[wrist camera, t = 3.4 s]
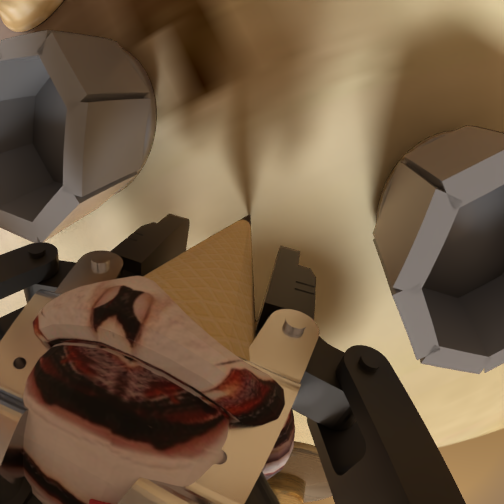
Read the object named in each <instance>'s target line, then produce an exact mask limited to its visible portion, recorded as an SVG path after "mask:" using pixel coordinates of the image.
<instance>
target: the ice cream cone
mask: <svg viewBox="0 0 504 504" xmlns="http://www.w3.org/2000/svg"><path fill="white" fill-rule="evenodd" d="M32 323H33V328H34V333H35V334H36V335H37V336H38V337H39V338H40V339H41V340H42V341H43V342H47V343H50V344H53V345H54V346H53V347H52V348H50V349H49V350H48V351H47V352H46V353H45V354H43V355H42V356H41V357H40V358H39V360H38V361H37V363H36V364H35V366H34V368H33V369H32V371H31V373H30V374H29V376H28V378H27V381H26V385H25V390H24V395H23V402H24V404H25V406H26V407H27V408H29V411H28V416H27V421H26V427H25V433H24V444H23V469H24V475H25V477H26V479H27V481H28V482H29V484H30V485H31V487H32V493H33V494H34V495H35V496H36V497H37V498H38V499H39V500H40V501H41V502H42V503H43V504H117V503H118V502H119V501H120V499H121V498H122V497H123V496H124V495H125V494H126V492H127V491H128V490H129V489H130V488H131V486H132V485H133V484H134V483H135V482H136V481H137V480H138V479H139V478H140V477H141V478H146V479H150V480H155V481H160V482H164V483H167V484H171V485H176V486H182V487H184V486H189V485H191V484H193V483H194V482H195V481H196V480H197V479H199V478H200V477H201V476H202V475H203V474H204V473H205V472H206V471H207V470H208V469H209V468H210V467H211V466H212V465H213V464H217V465H220V464H223V463H225V462H226V456H225V454H224V452H223V451H222V450H221V449H222V447H223V445H224V443H225V441H226V439H227V435H228V425H229V416H230V417H232V418H234V419H236V420H238V421H240V422H242V423H244V424H254V425H264V424H266V423H269V422H272V421H274V420H277V419H278V418H279V416H280V415H281V412H282V410H283V408H284V406H285V398H284V389H283V388H282V387H281V386H280V385H279V384H278V383H277V382H276V381H275V380H274V379H273V378H272V377H271V376H269V375H268V374H266V373H265V372H263V371H261V370H259V369H257V368H255V367H253V366H251V365H250V364H248V363H246V362H244V361H243V360H242V359H240V358H239V357H237V356H240V357H242V358H244V359H246V360H248V361H250V355H249V347H250V345H251V344H252V342H253V341H254V339H255V338H256V330H255V308H254V286H253V264H252V242H251V221H250V215H248V216H246V217H244V218H243V219H241V220H239V221H237V222H235V223H234V224H232V225H230V226H228V227H227V228H225V229H223V230H221V231H220V232H218V233H216V234H214V235H213V236H211V237H209V238H207V239H206V240H204V241H202V242H201V243H199V244H197V245H195V246H194V247H192V248H190V249H189V250H187V251H185V252H183V253H182V254H180V255H178V256H177V257H175V258H173V259H171V260H170V261H168V262H166V263H165V264H163V265H161V266H160V267H158V268H156V269H155V270H153V271H151V272H150V273H148V274H146V275H145V276H131V277H125V278H119V279H114V280H108V281H102V282H98V283H94V284H89V285H85V286H81V287H78V288H75V289H73V290H70V291H68V292H65V293H63V294H61V295H60V296H58V297H56V298H55V299H53V300H51V301H50V302H49V303H48V304H46V305H45V306H44V307H43V308H42V309H41V310H40V312H39V313H38V315H37V316H36V318H35V319H34V321H33V322H32ZM294 434H295V425H294V416H293V411H292V408H291V410H290V412H289V414H288V417H287V419H286V421H285V423H284V425H283V428H282V430H281V432H280V434H279V436H278V438H277V441H276V443H275V445H274V447H273V449H272V451H271V453H270V455H269V457H268V459H267V461H266V463H265V465H264V467H263V469H262V472H263V474H264V476H265V477H266V479H269V478H271V477H272V476H274V475H275V474H277V473H278V472H279V471H281V470H282V469H283V467H284V465H285V464H286V462H287V460H288V459H289V457H290V454H291V452H292V450H293V445H294Z"/></svg>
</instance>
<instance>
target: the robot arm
mask: <svg viewBox="0 0 504 504" xmlns="http://www.w3.org/2000/svg"><path fill="white" fill-rule="evenodd" d="M188 231H189V219H186V218H183V217H179V216H176V215H172V214H168V215H167V216H166V217H165V218H163V219H162V220H161V221H160V222H159V223H150V224H147V225H144V226H141V227H140V228H139V229H137V230H136V231H135V232H134V234H133V233H132V234H131V235H130V236H129V237H128V239H127V238H126V239H125V240H124V241H123V242H121V243H120V244H119V245H118V246H116V247H115V248H114V249H113V250H112V251H110V252H109V251H93V252H89V253H87V254H85V255H83V256H82V257H81V258H80V259H79V260H78V262H77V263H74V262H67V261H60V260H59V259H58V250H57V248H56V247H55V246H54V245H52V244H49V243H44V242H39V243H33V244H29V245H27V246H24V247H21V248H18V249H16V250H13V251H10V252H7V253H5V254H2V255H0V299H2V298H5V297H7V296H9V295H11V294H14V293H16V292H18V291H20V290H23V289H24V293H25V297H26V301H27V305H26V306H24V307H22V308H20V309H18V310H16V311H14V312H11V313H9V314H7V315H5V316H3V317H1V318H0V504H43V503H42V502H41V501H40V500H39V499H38V498H37V497H36V496H35V495H34V494H33V493H32V487H31V485H30V484H29V482H28V481H27V479H26V477H25V475H24V469H23V444H24V433H25V427H26V421H27V416H28V411H29V408H27V407H26V406H25V404H24V402H23V395H24V390H25V385H26V381H27V378H28V376H29V374H30V373H31V371H32V369H33V368H34V366H35V364H36V363H37V361H38V360H39V358H40V357H41V356H42V355H43V354H45V353H46V352H47V351H48V350H49V349H50V348H52V347H53V346H54V345H53V344H50V343H47V342H43V341H42V340H41V339H40V338H39V337H38V336H37V335H36V334H35V333H34V328H33V323H32V322H33V321H34V319H35V318H36V316H37V315H38V313H39V312H40V310H41V309H42V308H43V307H44V306H45V305H46V304H48V303H49V302H50V301H51V300H53V299H55V298H56V297H58V296H60V295H61V294H63V293H65V292H68V291H70V290H73V289H75V288H78V287H81V286H85V285H89V284H94V283H98V282H102V281H108V280H114V279H119V278H125V277H131V276H145V275H146V274H148V273H150V272H151V271H153V270H155V269H156V268H158V267H160V266H161V265H163V264H165V263H166V262H168V261H170V260H171V259H173V258H175V257H177V256H178V255H180V254H182V253H183V252H185V251H186V245H187V238H188ZM299 255H300V251H297V250H294V249H290V248H287V247H283V246H280V248H279V251H278V255H277V258H276V261H275V265H274V268H273V271H272V275H271V278H270V281H269V285H268V288H267V291H266V295H265V298H264V302H263V305H262V309H261V312H260V316H259V319H258V323H257V326H256V338H255V339H254V341H253V342H252V344H251V345H250V347H249V355H250V361H248V360H246V359H244V358H242V357H240V356H237V357H239V358H240V359H242V360H243V361H244V362H246V363H248V364H250V365H251V366H253V367H255V368H257V369H259V370H261V371H263V372H265V373H266V374H268V375H269V376H271V377H272V378H273V379H274V380H275V381H276V382H277V383H278V384H279V385H280V386H281V387H282V388H283V389H284V398H285V406H284V408H283V410H282V412H281V415H280V416H279V418H278V419H277V420H274V421H272V422H269V423H266V424H264V425H254V424H244V423H242V422H240V421H238V420H236V419H234V418H232V417H230V416H229V425H228V435H227V439H226V441H225V443H224V445H223V447H222V449H221V450H222V451H223V452H224V454H225V456H226V462H225V463H223V464H220V465H217V464H213V465H212V466H211V467H210V468H209V469H208V470H207V471H206V472H205V473H204V474H203V475H202V476H201V477H200V478H199V479H197V480H196V481H195V482H194V483H193V484H191V485H189V486H184V487H182V486H176V485H171V484H167V483H164V482H160V481H155V480H150V479H146V478H141V477H140V478H139V479H138V480H137V481H136V482H135V483H134V484H133V485H132V486H131V488H130V489H129V490H128V491H127V492H126V494H125V495H124V496H123V497H122V498H121V499H120V501H119V502H118V503H117V504H280V502H279V500H278V499H277V497H276V495H275V494H274V492H273V490H272V488H271V486H270V485H269V483H268V481H267V479H266V477H265V476H264V474H263V472H262V469H263V467H264V465H265V463H266V461H267V459H268V457H269V455H270V453H271V451H272V449H273V447H274V445H275V443H276V441H277V438H278V436H279V434H280V432H281V430H282V428H283V425H284V423H285V421H286V419H287V417H288V414H289V412H290V410H291V408H292V409H293V410H295V411H297V412H298V413H300V414H302V415H304V416H306V417H307V422H308V426H309V429H310V432H311V435H312V437H313V440H314V443H315V446H316V449H317V452H318V455H319V458H320V461H321V464H322V467H323V470H324V473H325V475H326V478H327V481H328V484H329V487H330V490H331V493H332V496H333V499H334V502H335V504H466V503H465V501H464V499H463V497H462V495H461V493H460V491H459V489H458V487H457V485H456V483H455V481H454V479H453V477H452V475H451V473H450V471H449V469H448V467H447V465H446V463H445V461H444V459H443V457H442V455H441V454H440V451H439V450H438V448H437V446H436V444H435V442H434V440H433V438H432V437H431V435H430V433H429V431H428V429H427V427H426V426H425V424H424V422H423V420H422V418H421V417H420V415H419V413H418V411H417V409H416V408H415V406H414V404H413V402H412V401H411V399H410V397H409V395H408V394H407V392H406V390H405V388H404V387H403V385H402V383H401V382H400V380H399V378H398V376H397V375H396V373H395V371H394V370H393V368H392V366H391V365H390V363H389V361H388V360H387V359H386V357H385V356H384V355H382V354H381V353H380V352H379V351H377V350H375V349H373V348H371V347H368V346H363V345H356V346H352V347H350V348H349V349H347V351H346V352H345V353H344V352H342V351H340V350H338V349H336V348H334V347H332V346H331V345H329V344H327V343H326V342H325V341H324V340H323V339H321V337H320V336H319V327H318V325H317V324H316V322H315V321H314V309H315V286H316V277H315V276H314V274H313V272H312V270H311V269H310V268H307V267H303V266H300V265H298V262H299Z"/></svg>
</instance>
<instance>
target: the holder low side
mask: <svg viewBox="0 0 504 504" xmlns="http://www.w3.org/2000/svg"><path fill="white" fill-rule="evenodd" d="M373 235H374V237H375V239H373V241H374V244H375V246H376V249H377V252H378V255H379V258H380V260H381V263H382V266H383V269H384V272H385V275H386V278H387V281H388V284H389V287H390V290H391V293H392V296H393V299H394V301H395V304H396V306H397V309H398V311H399V314H400V316H401V319H402V321H403V324H404V326H405V329H406V332H407V334H408V337H409V340H410V343H411V345H412V348H413V351H414V354H415V357H416V359H417V360H419V359H420V362H421V364H426V365H431V366H437V367H442V368H447V369H453V370H458V371H464V372H470V373H476V374H480V373H481V371H482V370H484V372H485V373H486V372H488V371H490V370H492V369H493V368H495V367H497V366H499V365H501V364H503V363H504V133H501V132H497V131H493V130H489V129H484V128H480V127H475V126H472V127H471V126H467V125H466V126H464V127H462V128H460V129H458V130H456V131H447V132H442V133H438V134H436V135H433V136H431V137H428V138H427V139H425V140H423V141H421V142H420V143H418V144H417V145H415V146H414V147H413V148H412V149H410V150H409V151H408V152H407V153H406V154H405V155H404V156H403V157H402V158H401V159H400V161H399V162H398V163H397V165H396V166H395V167H394V169H393V170H392V172H391V174H390V175H389V177H388V179H387V181H386V183H385V186H384V188H383V190H382V193H381V197H380V200H379V203H378V209H377V215H376V226H375V229H374V231H373Z"/></svg>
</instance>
